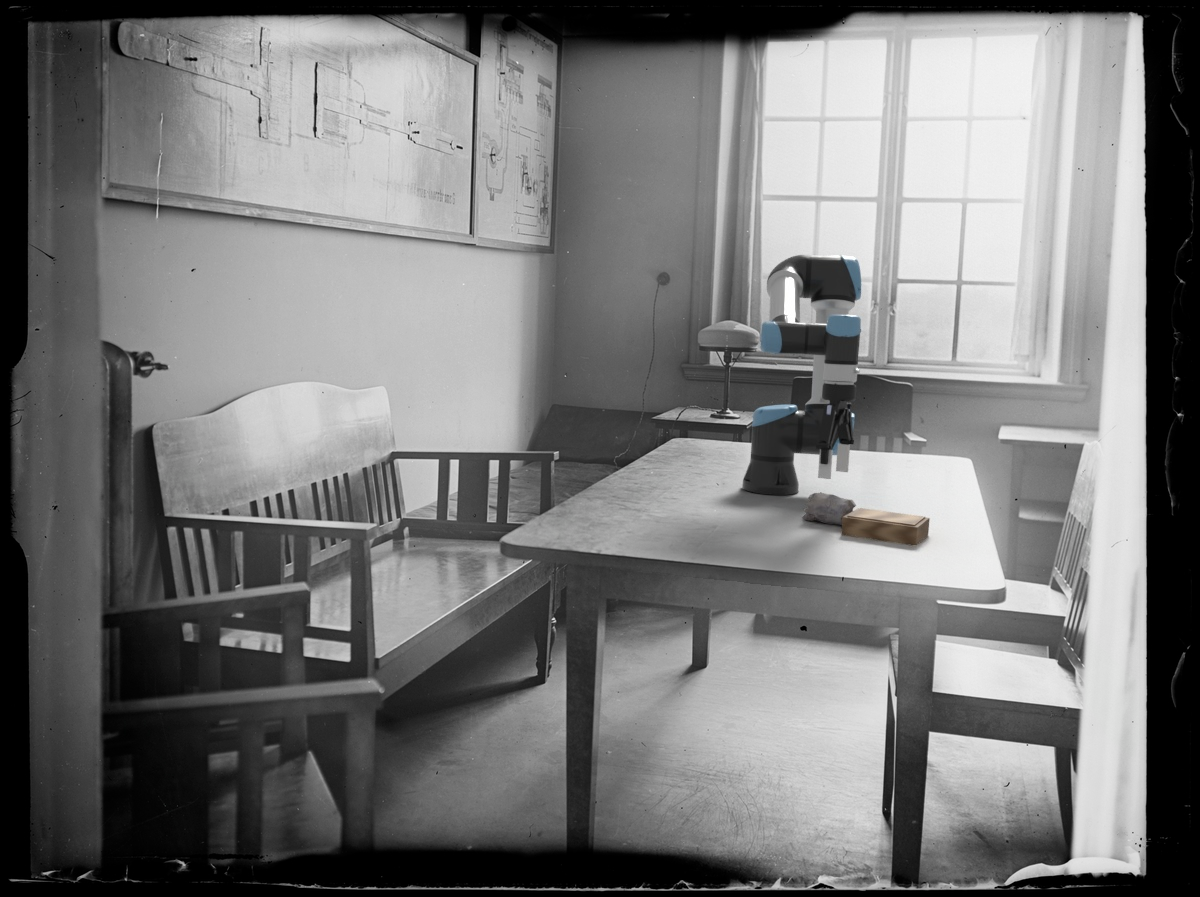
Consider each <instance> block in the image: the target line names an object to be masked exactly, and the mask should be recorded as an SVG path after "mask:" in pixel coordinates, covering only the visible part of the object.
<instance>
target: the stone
mask: <svg viewBox="0 0 1200 897" xmlns="http://www.w3.org/2000/svg"><path fill="white" fill-rule="evenodd" d="M805 504H806V505H805V506H806V508H804V510H803V511H804V512H805V513H804V514H803V515H802V519H803V520H805V521H808V522H813V521H818V522H821V523H824V524H827V525H829V524H830V525H831V524H832V525H840V526H842V520H843V517H844V516H845V515H847V514H849V513H851V512H852V511H854V510H853V509H855V508H856V507H857V504H856V503H855V502H854V500H853V499H849V498H848V499H847V498H843V497H840V496H838V495H835V494H829V493H824V492H814V493H811V494H810V495H809V496H808V501H805Z"/></svg>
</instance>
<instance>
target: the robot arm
mask: <svg viewBox="0 0 1200 897" xmlns="http://www.w3.org/2000/svg"><path fill="white" fill-rule="evenodd" d="M766 292H767V294H768V296H769V318H768V319H769V321H764V322H763V323H762V324H761V328H760V329H761V330H760V331H761V332H760V347H759V348H760V350H761V352H762V353H769V354H774V355H778V354H781V355H782V354H784V355H787V354H788V355H809V356H810V355H811V356H812V355H813V364H812V382H811V383H812V384H811V398H810V399H809V400H808V401H807V402H806V403H805V405H804V410H799V409H798V405H796V404H774V405H766V406H765V405H764V406H760V407H758V408H757V409H755V410H754V412H753V414H752V415H753V416H752V424H751V427H752V430H751V443H750V445H751V446H750V459H749V464H748V465H747V467H746V468H747V469H746V471H745V474H744V477H743V478H742V484H741V486H742V489H743V490H744V491H747V492H749V493H756V494H762V495H771V496H772V495H775V496H776V495H777V496H781V495H782V496H785V495H786V496H787V495H794V494H797V493H798V492H799V486H800V484H799V481H798V480H799V478H798V476H797V472H796V467H795V464H794V461H795V459H794V458H795V454H803V455H817V456H818V455H819V456H818V457H819V458H818V473H817V478H818V479H825V480H831V477H832V468H833V467H832V465H833V456H836V466H835V467H836V468H835V472H840V473H848V472H849V466H850V465H849V463H850V452H851V451H850V450H851V445H854V444H855V440H854V427H855V417H856V415H855V413H853V412H852V408H853V405H852V404H853V403H852V402H854V401H855V400H857V399H856V398H857V395H856V394H857V385H856V384H854V383H856V382H857V380H858V374H859V373H860V371H861V370H860V369H858V366H859V365H858V364H859V352H860V341H861V340H860V339H861V332H862V328H861V327H862V326H861V325H862V324H861V323H862V321H861V316H859V315H853V314H849V312H850V311H851V310H852V309H853V308H855V305H856V301H858V300H860V299H861V297H862V273H861V267H860V263H859V260H858V259H857V258H856V257H854V256H851V255H850V256H848V255H842V254H838V255H836V254H834V255H829V254H828V255H824V254H823V255H821V254H820V255H819V254H817V255H816V254H798V255H797V254H796V255H793V256H790V257H788V258H785V259H784V260H782V261H781V262H779V263H778V264H777V265H776V266H775V267H774V268H772V270H771V271H770V273H769V274H768V277H767V280H766ZM800 299H810V306H811V307H812V308H813V310H814V311H815V322H801V308H800V307H801V304H800V302H801V301H800Z"/></svg>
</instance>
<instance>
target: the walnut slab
mask: <svg viewBox="0 0 1200 897" xmlns="http://www.w3.org/2000/svg"><path fill="white" fill-rule="evenodd" d="M930 520H931V518H930V517H926V516H923V515H922V516H921V515H914V514H909V513H907V514H906V513H901V512H892V511H887V510H886V511H884V510H878V509H869V508H864V507H863V508H862V507H860V508H856V509H854V510H853V511H852V512H851V513H849V514H847V515H845V516H844V517H843V520H842V525H841V535H842V536H847V537H852V538H853V537H854V538H859V539H860V538H861V539H868V540H872V541H873V540H874V541H881V542H888V543H893V544H901V545H906V546H907V545H908V546H915V547H917V545H918V544H920V543H921V542H922V541H924V540H925V539H927V537H928V536H929V529H930ZM918 546H919V545H918Z"/></svg>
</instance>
